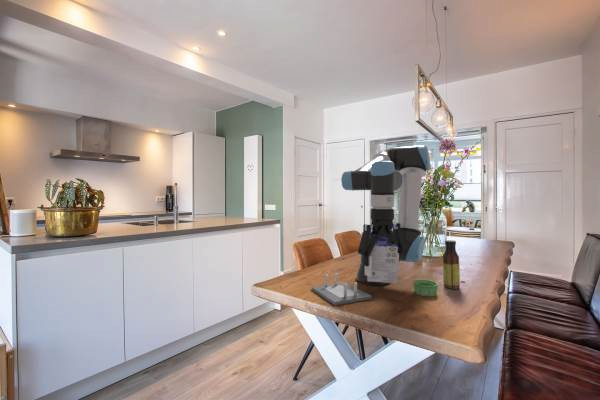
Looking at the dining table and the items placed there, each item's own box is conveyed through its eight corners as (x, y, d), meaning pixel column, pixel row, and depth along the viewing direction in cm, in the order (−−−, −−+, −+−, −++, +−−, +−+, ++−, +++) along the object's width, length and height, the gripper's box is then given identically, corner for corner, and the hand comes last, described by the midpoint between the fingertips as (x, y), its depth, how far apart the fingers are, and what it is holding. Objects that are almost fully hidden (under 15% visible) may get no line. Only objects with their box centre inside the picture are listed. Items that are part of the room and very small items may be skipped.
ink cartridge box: (396, 278, 97) (396, 236, 97) (398, 283, 92) (398, 239, 92) (366, 277, 99) (366, 235, 99) (367, 282, 94) (367, 238, 94)
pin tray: (345, 285, 123) (345, 270, 123) (371, 299, 106) (371, 282, 106) (311, 289, 116) (311, 274, 116) (334, 305, 100) (334, 287, 100)
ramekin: (425, 288, 119) (425, 278, 119) (443, 295, 111) (443, 284, 111) (408, 291, 116) (408, 280, 116) (425, 298, 107) (425, 287, 107)
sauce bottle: (459, 286, 122) (459, 240, 122) (460, 290, 117) (461, 242, 116) (442, 284, 125) (442, 239, 125) (442, 288, 119) (443, 241, 119)
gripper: (360, 209, 87) (360, 281, 87) (416, 207, 96) (416, 272, 97) (346, 208, 94) (346, 274, 94) (400, 206, 103) (400, 267, 104)
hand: (381, 273), depth 96 cm, fingers closed on ink cartridge box, 11 cm apart
